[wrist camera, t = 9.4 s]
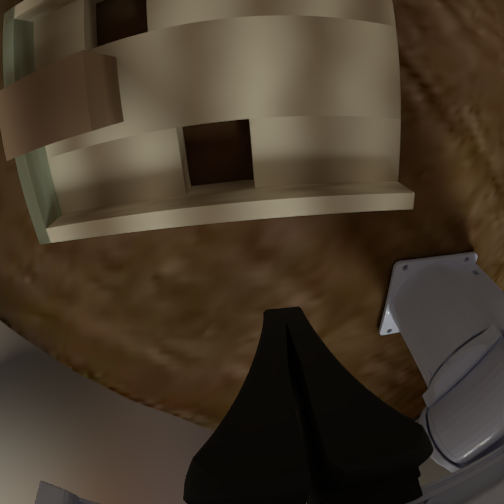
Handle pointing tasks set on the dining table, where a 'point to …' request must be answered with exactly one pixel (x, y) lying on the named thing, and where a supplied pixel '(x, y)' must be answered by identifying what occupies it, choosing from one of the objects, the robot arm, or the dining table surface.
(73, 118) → the walnut block
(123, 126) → the trap box
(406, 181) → the dining table surface
